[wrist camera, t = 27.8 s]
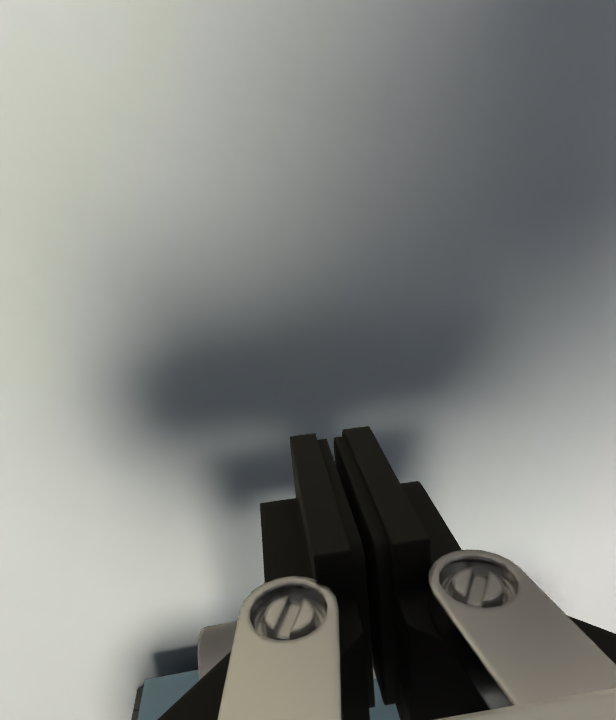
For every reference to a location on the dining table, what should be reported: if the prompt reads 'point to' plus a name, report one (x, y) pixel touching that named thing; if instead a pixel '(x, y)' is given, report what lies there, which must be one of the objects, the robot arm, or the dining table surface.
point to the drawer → (210, 652)
